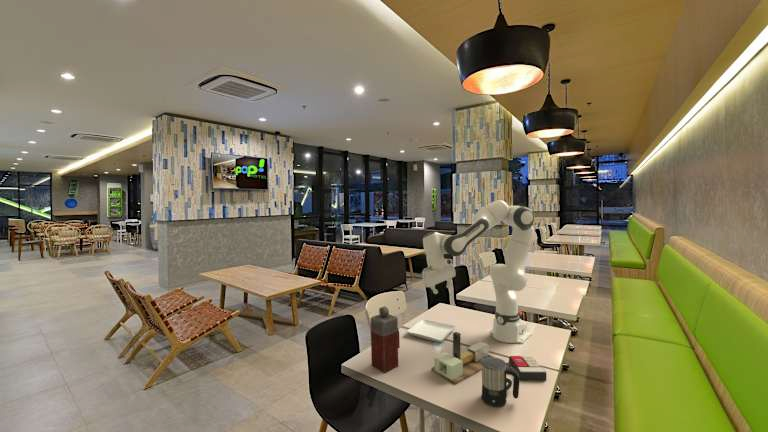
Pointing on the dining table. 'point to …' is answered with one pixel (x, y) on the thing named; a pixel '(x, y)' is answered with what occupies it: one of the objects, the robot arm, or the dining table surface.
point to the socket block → (448, 365)
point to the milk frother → (497, 381)
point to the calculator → (527, 368)
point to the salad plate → (431, 330)
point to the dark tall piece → (464, 356)
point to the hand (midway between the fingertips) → (442, 290)
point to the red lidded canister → (384, 341)
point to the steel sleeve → (479, 351)
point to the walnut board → (464, 371)
